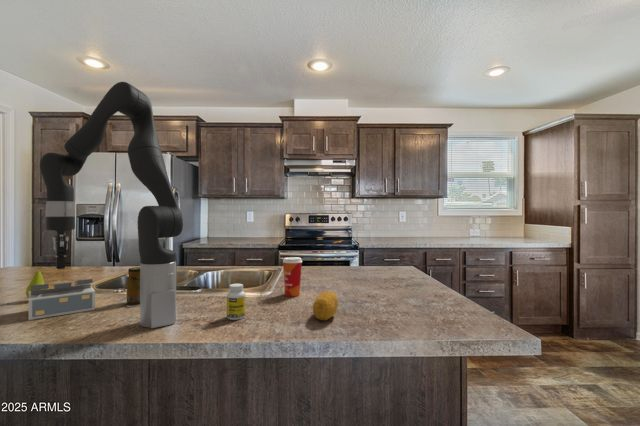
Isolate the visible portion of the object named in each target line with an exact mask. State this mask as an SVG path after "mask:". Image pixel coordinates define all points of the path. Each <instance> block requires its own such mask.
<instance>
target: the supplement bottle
mask: <svg viewBox="0 0 640 426" xmlns="http://www.w3.org/2000/svg"><path fill="white" fill-rule="evenodd" d="M228 288H229V292H228V293H227V294H226V318H227V319H228V320H231V321H236V320H242V319H244V318H245V317H246V292H245V291H243V290H244V284H242V283H232V284H229V286H228Z"/></svg>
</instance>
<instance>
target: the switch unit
mask: <svg viewBox="0 0 640 426" xmlns="http://www.w3.org/2000/svg"><path fill="white" fill-rule="evenodd" d="M94 310H96V290H95V289H94V288H93V286H92V283H90V284H85V285H76V286H74V285H73V286H72V285H71V287H64V288H54V287H53V288H48V289H44V290H36V291H31V292H29V298H28V321H32V320H38V319H44V318H50V317H58V316H64V315H69V314H76V313H83V312H87V311H88V312H89V311H94Z"/></svg>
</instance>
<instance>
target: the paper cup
mask: <svg viewBox="0 0 640 426" xmlns="http://www.w3.org/2000/svg"><path fill="white" fill-rule="evenodd" d="M302 264H303V260H302V258H301V257H296V256H289V257H284V258H283V260H282V265H283V280H284V281H283V283H284V295H285V296H286V297H298V296H300V294H301V293H300V292H301V283H302V282H301V281H302V279H301V278H302V267H303V266H302Z"/></svg>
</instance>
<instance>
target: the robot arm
mask: <svg viewBox="0 0 640 426" xmlns="http://www.w3.org/2000/svg"><path fill="white" fill-rule="evenodd" d="M116 113H120V114H122V115H124V116H126V117H128V118H129V119H130V120H129V121H130V122H131V125H132V128H133V132H134V133H133V136H132V138H131V140H130V142H129V144H128V147H127V155H128V160H129V164H130V169H131V171H132V173H133V174H134V176H135V177H136V179H137V180H138V181H139V182H140V183H141V184H142V185H143V186H144V187H146V188H147V190H148V191H149V192H150V193H151V194H152V196H153V197H154V199H155V200H156V202H157V205H145V206H142V208H141V209H140V210H139V212H138V216H137V236H138V238H137V239H138V252H139V258H140V261H139V263H140V265H139V267H140V306H139V317H140V318H139V320H140V321H139V325H140V327H144V328H150V329H157V328H160V327H165V326H166V327H167V326H171V325H175V323H176V321H177V253H176V251H174V250H172V249H168V248H165V247H164V246H162V245H160V240H159V239H166V238H176V237H178V236H180V235H181V234H182V232H183V228H184V220H183V215H182V212H181V208H180V205H179V203H178V201H177V198H176V195H175V193H174V190H173V188H172V186H171V182H170V178H169V175H168V172H167V169H166V164H165V159H164V155H163V152H162V149H161V145H160V143H159V139H158V134H157V130H156V126H155V120H154V119H155V118H154V112H153V107H152V102H151V99H150V98H149V97H148V96H147V95H146V94H145V93H144V92H143V91H142V90H140V89H138V88H137V87H136V86H133V85H132V84H131V83H128V82H126V81H120V82H116V83H115V84H113V86H111V87H110V88H109V90H108V91H107V92H106V94H105V95H104V96H103V98H102V99H101V100H100V102H99V103H97V106H96V107H95V108H94V110H93V112H92V113H91V115H90V116H89V117H88V119H87V120H86V121H85V123H84V124H83V125H82V126H81V127H80V128H79V129H78V130H77V131H76V132H74V133H73V135H72V136H71V137H70V138H68V140H67V141H66V142H65V143H64V149H65V151H66V152H67V154H62V153H61V154H60V153H57V152H46V153H45V154H43V155H42V156H41V159H40V160H39V169H40V173H41V176H42V178H43V183H44V186H45V188H46V204H45V230H47V231H55V235H52V242H53V250H54V256H55V258H56V259H55V260H56V261H55V266H56V269H57V270H64V269H65V268H66V257H67V254H68V253H67V250H68V248H69V246H68V245H69V244H68V243H69V240H70V237H69V235H67V232H66V231H73V230H75V229H76V206H75V191H74V186H73V185H72V184H70V183H68V182H66V181H65V180H64V178H63V177H66V178H69V177H74V176H76V175H77V174H78V173H80V172H81V170H82V168H83V167H84V164H85V163H86V162H87V159H88V157H90V155H91V154H93V153H94V152H95V151H96V150H97V149H98V148H99V147H100V146H101V145H102V143H103V141H104V139H105V135H106V128H107V125H108V122H109V120H110V119H111V118H112V117H113V116H114V115H116Z"/></svg>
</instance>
